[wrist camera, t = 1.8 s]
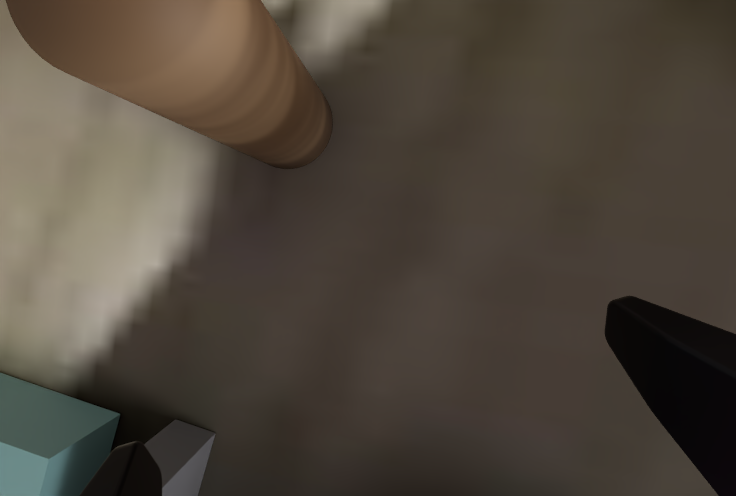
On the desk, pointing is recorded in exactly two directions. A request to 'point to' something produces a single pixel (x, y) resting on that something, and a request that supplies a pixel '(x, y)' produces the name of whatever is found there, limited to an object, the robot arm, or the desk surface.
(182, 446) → the charcoal wall
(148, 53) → the walnut dowel
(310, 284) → the desk surface
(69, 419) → the teal block
